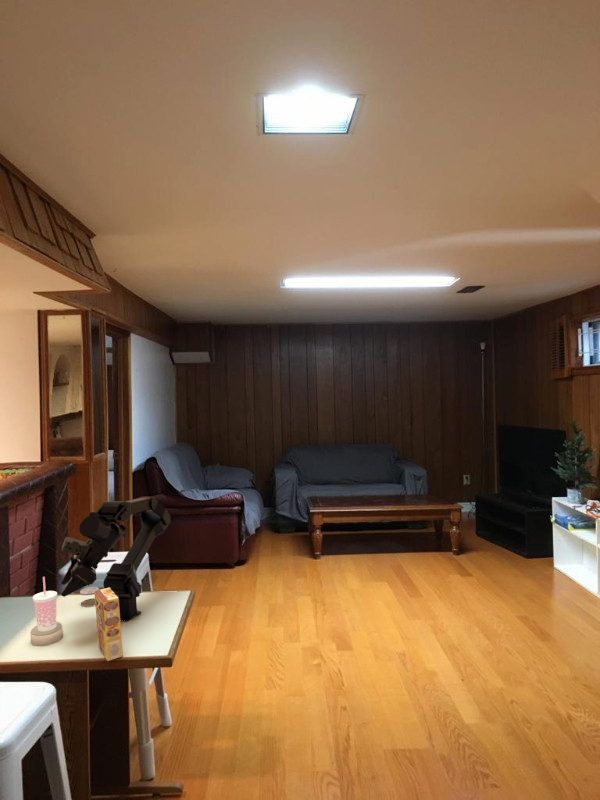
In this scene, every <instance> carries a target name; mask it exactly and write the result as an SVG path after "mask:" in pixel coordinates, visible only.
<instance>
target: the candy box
mask: <svg viewBox="0 0 600 800" xmlns="http://www.w3.org/2000/svg"><path fill="white" fill-rule="evenodd" d="M93 595H94V598H95V606H94V607H95V616H96V617H95V618H96V630H97V641H98V649H99V651H100V652H101V653H102V655H103V657H104V658H105V660H106V661H107V662H109V661H113V660H115V659H118V658H121V657H123V656H124V652H123V651H124V650H123V639H122V638H123V637H122V625H121V621H120V610H119V598H118V596H117V595H116V594H115V593H114V592H113V591H112V590H111V589H110V588H105V589H104V588H102V589H99V590H97V591H94V594H93Z"/></svg>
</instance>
